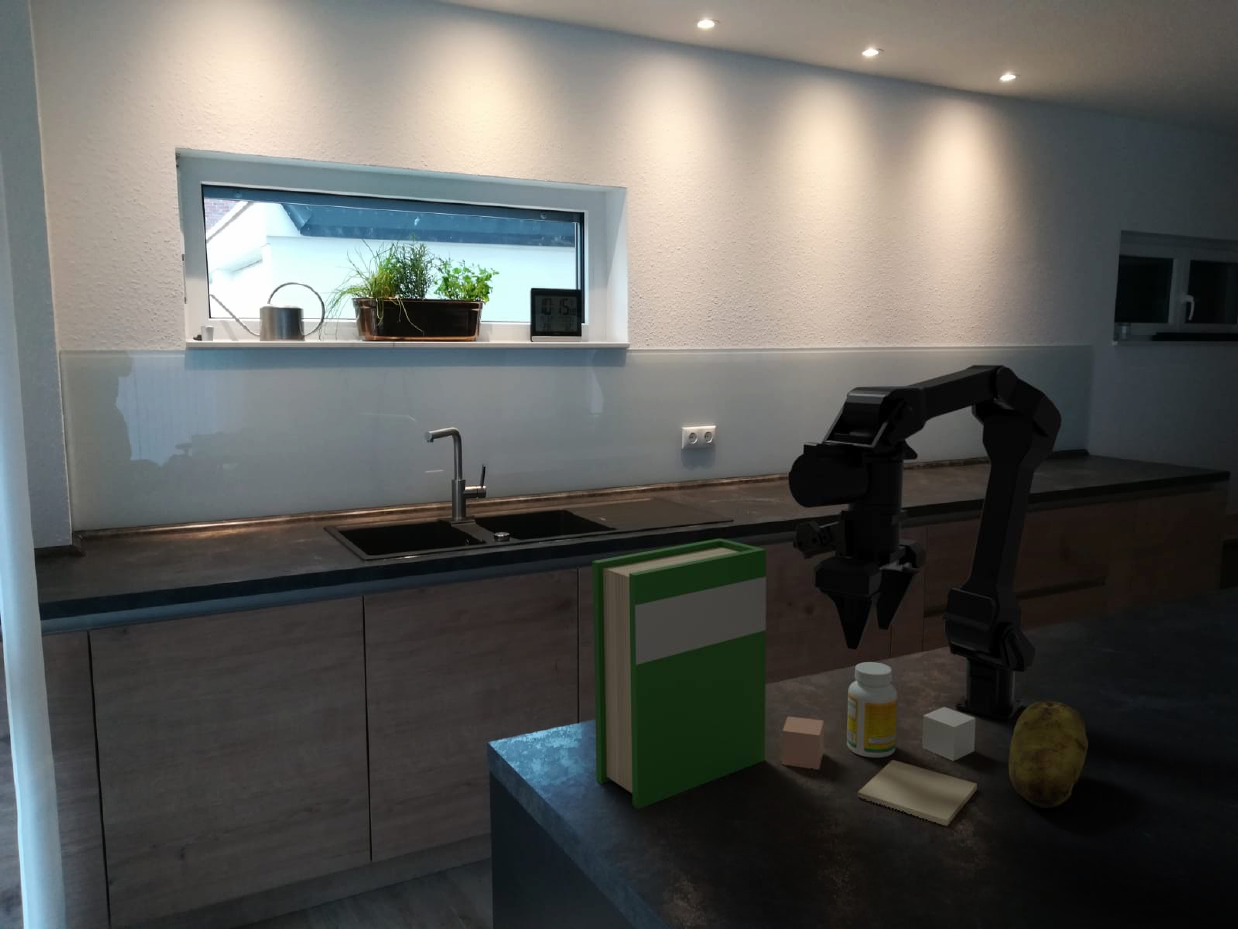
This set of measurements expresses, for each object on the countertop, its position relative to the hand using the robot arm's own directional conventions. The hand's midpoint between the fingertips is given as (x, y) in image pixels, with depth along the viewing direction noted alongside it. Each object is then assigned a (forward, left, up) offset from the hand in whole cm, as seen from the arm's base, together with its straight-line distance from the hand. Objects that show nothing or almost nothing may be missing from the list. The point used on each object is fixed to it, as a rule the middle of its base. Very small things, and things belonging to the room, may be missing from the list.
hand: (868, 638), depth 100 cm
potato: (-3, +18, -13) cm, 23 cm away
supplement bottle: (0, 0, -13) cm, 13 cm away
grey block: (-5, +7, -13) cm, 16 cm away
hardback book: (+17, -14, -13) cm, 26 cm away
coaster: (+7, +8, -13) cm, 17 cm away
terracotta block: (+7, -5, -13) cm, 15 cm away
